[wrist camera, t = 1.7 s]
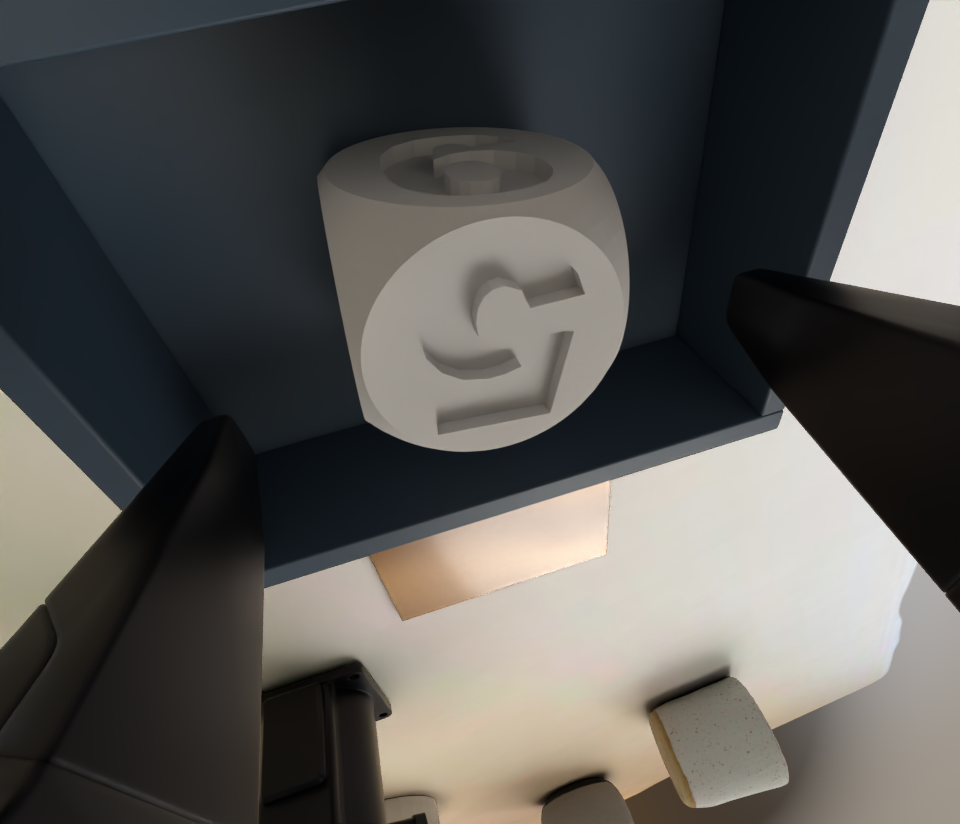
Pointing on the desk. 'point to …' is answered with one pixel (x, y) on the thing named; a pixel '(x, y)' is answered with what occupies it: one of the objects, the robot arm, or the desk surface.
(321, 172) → the die
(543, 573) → the coaster
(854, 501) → the desk surface
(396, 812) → the flag stand
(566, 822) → the smart speaker
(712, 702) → the ceramic mug
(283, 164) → the bin
